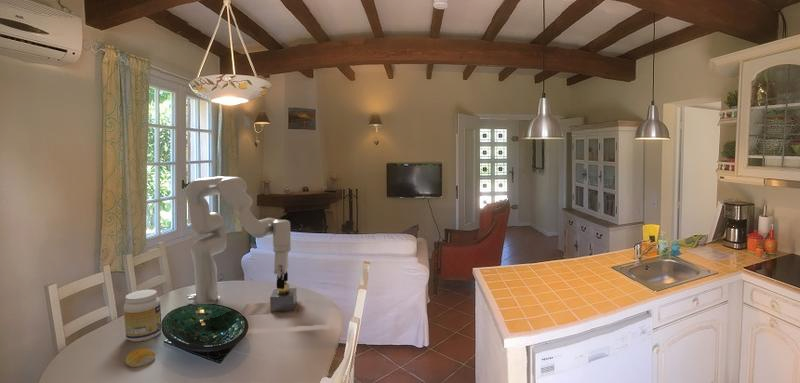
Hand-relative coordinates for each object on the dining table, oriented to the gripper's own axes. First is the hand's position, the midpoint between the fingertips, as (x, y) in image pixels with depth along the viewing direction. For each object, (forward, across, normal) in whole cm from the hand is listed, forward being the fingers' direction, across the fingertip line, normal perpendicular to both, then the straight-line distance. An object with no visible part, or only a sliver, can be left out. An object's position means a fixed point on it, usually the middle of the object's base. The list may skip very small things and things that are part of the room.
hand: (282, 284), depth 178 cm
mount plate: (+12, 0, -5) cm, 13 cm away
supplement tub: (+13, +18, -50) cm, 55 cm away
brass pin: (+10, 0, +1) cm, 10 cm away
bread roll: (+13, +38, -42) cm, 58 cm away
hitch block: (+11, 0, +1) cm, 11 cm away
